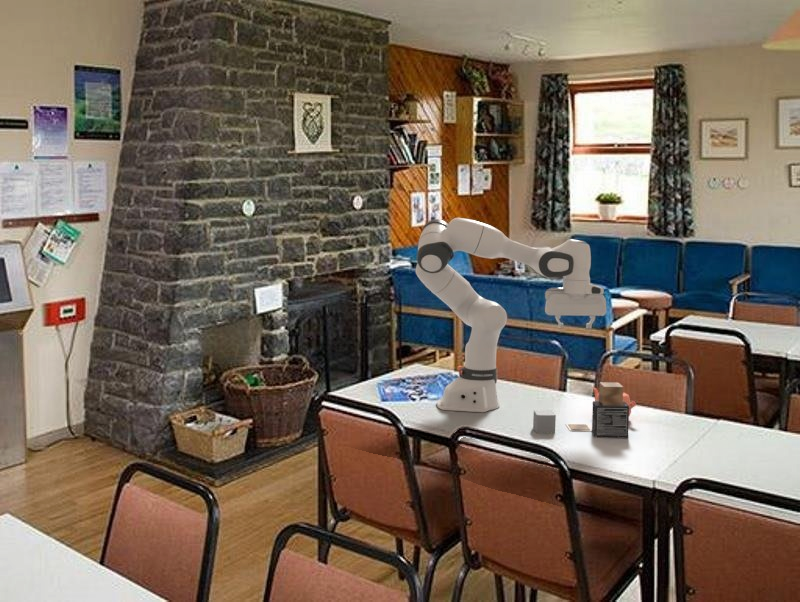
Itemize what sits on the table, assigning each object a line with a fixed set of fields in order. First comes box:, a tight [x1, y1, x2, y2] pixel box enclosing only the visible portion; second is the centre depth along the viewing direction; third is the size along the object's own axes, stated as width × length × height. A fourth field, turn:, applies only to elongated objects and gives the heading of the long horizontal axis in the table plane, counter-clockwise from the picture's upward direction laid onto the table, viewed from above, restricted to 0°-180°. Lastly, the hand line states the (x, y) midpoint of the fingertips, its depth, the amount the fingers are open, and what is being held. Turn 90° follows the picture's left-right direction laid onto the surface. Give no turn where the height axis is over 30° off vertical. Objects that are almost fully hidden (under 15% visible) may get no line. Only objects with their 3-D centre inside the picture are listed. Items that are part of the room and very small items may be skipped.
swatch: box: [565, 423, 592, 432], centre depth 264 cm, size 7×7×1 cm
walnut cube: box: [598, 381, 624, 406], centre depth 255 cm, size 6×6×6 cm
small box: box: [591, 400, 630, 439], centre depth 256 cm, size 11×6×10 cm, turn 87°
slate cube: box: [532, 409, 557, 434], centre depth 260 cm, size 6×6×6 cm
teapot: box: [591, 386, 637, 417], centre depth 275 cm, size 14×12×10 cm
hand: (574, 328), depth 272 cm, fingers open, 8 cm apart
